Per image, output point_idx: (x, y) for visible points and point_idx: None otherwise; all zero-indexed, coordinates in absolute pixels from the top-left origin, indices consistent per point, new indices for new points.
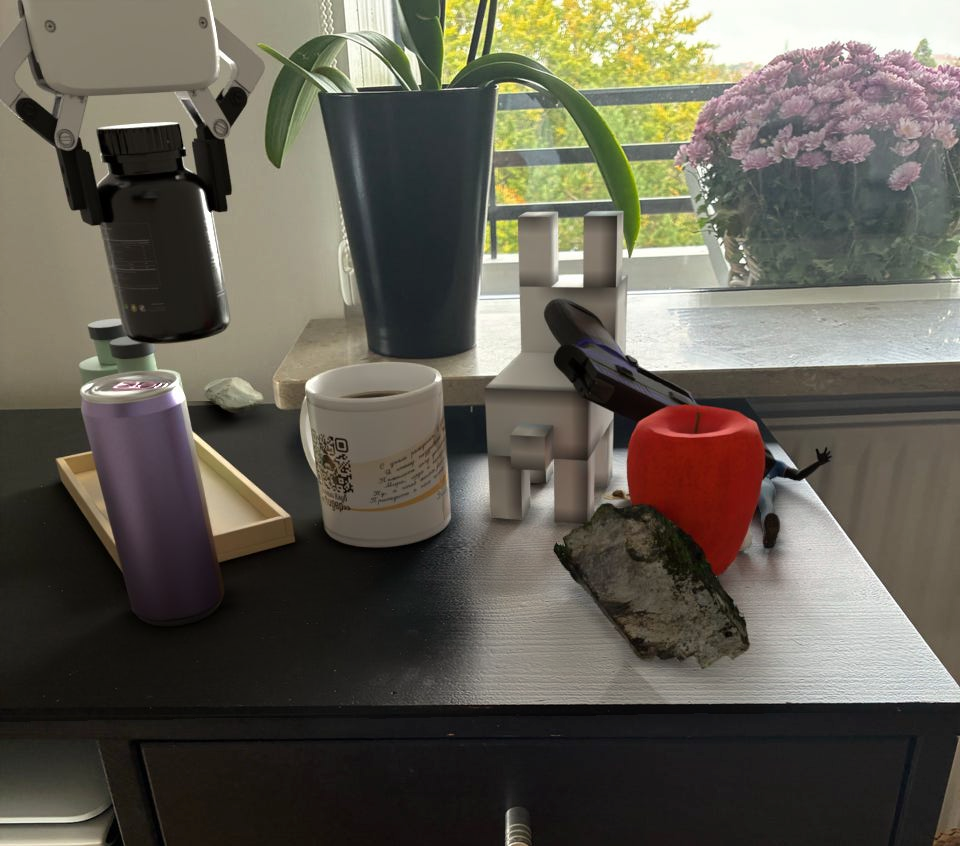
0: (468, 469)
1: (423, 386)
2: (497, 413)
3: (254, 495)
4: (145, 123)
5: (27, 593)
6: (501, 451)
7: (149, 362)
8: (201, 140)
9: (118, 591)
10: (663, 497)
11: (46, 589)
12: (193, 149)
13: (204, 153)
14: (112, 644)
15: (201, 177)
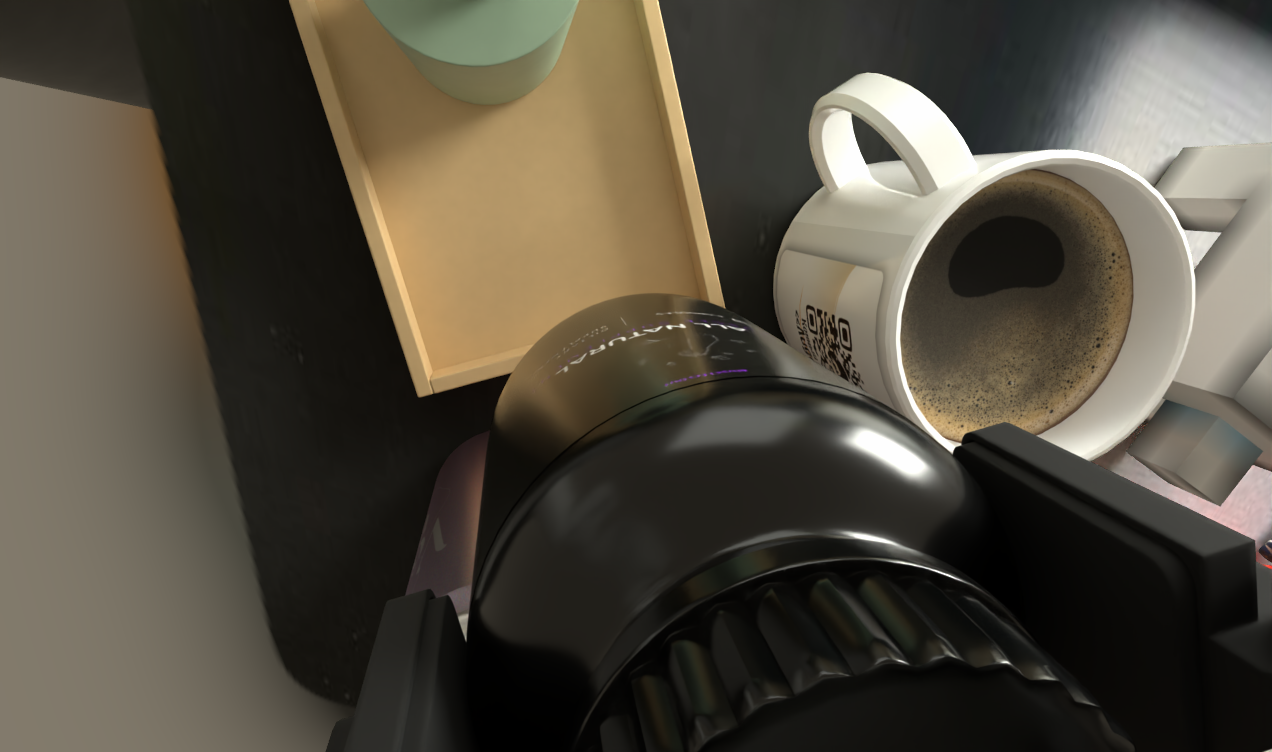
0: (1101, 72)
1: (1142, 254)
2: (1204, 397)
3: (673, 151)
4: (967, 734)
5: (235, 346)
6: None
7: None
8: (1207, 712)
9: (402, 395)
10: None
11: (269, 341)
12: (1134, 564)
13: (1141, 748)
14: (407, 571)
15: (1040, 562)
